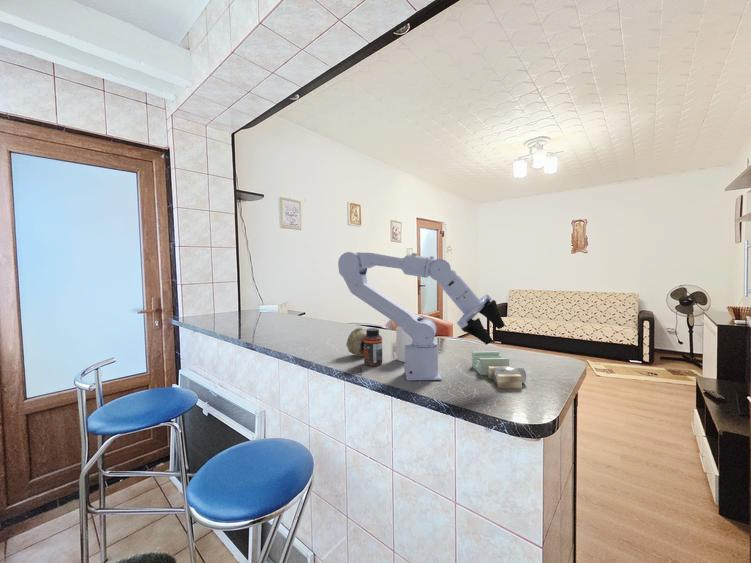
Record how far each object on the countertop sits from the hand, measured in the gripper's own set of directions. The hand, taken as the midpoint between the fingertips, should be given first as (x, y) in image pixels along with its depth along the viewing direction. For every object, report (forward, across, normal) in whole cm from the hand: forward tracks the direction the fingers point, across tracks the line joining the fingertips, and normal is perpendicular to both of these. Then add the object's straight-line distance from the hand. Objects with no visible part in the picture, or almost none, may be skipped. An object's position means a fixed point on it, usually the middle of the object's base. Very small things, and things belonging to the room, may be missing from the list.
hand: (495, 334), depth 81 cm
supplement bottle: (-13, -17, +33) cm, 39 cm away
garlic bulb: (-18, -14, +43) cm, 48 cm away
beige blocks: (+11, -5, +4) cm, 12 cm away
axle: (+12, -4, +4) cm, 13 cm away
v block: (+9, +1, +12) cm, 15 cm away
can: (-7, -7, +31) cm, 33 cm away
